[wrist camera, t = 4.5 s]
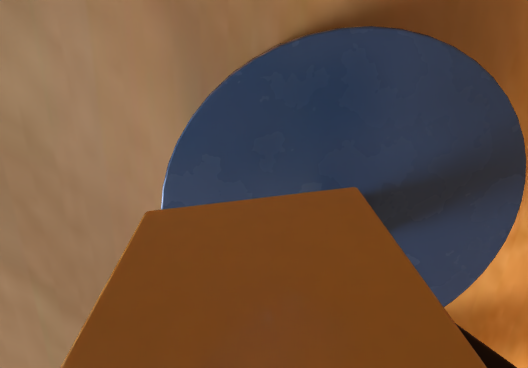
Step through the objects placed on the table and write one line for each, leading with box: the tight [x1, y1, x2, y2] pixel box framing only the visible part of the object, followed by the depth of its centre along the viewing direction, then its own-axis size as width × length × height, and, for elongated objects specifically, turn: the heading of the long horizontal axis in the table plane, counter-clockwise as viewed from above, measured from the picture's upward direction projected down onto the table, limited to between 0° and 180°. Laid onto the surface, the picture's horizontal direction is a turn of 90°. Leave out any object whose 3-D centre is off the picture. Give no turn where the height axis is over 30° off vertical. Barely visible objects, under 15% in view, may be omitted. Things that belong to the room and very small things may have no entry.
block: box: [60, 187, 487, 368], centre depth 6 cm, size 5×5×5 cm
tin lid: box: [161, 26, 526, 307], centre depth 12 cm, size 15×15×5 cm
